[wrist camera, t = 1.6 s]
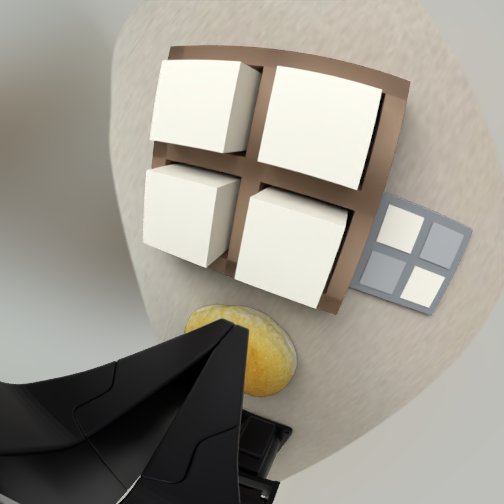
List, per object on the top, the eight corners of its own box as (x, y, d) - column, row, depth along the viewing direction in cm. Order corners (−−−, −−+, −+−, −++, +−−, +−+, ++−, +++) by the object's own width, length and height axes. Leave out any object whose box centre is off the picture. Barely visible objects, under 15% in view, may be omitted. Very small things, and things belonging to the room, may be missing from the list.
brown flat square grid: (340, 292, 17) (336, 314, 15) (168, 231, 20) (147, 243, 18) (402, 90, 11) (410, 81, 9) (193, 54, 14) (170, 46, 12)
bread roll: (299, 385, 22) (287, 421, 18) (206, 367, 25) (185, 396, 22) (299, 304, 19) (283, 341, 15) (186, 292, 22) (157, 319, 19)
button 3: (230, 246, 17) (205, 267, 14) (172, 226, 18) (142, 242, 15) (242, 178, 15) (217, 188, 12) (179, 162, 16) (146, 170, 13)
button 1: (324, 279, 16) (315, 308, 13) (255, 255, 17) (234, 278, 14) (347, 209, 14) (345, 227, 11) (270, 185, 15) (250, 197, 12)
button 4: (248, 149, 14) (222, 153, 12) (182, 137, 15) (149, 139, 13) (263, 75, 12) (240, 61, 10) (194, 69, 13) (162, 60, 11)
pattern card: (430, 311, 15) (431, 316, 15) (349, 283, 17) (348, 287, 16) (470, 227, 13) (473, 230, 12) (382, 191, 14) (383, 192, 14)
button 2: (357, 180, 13) (357, 190, 10) (276, 156, 14) (257, 161, 11) (376, 100, 11) (382, 89, 8) (293, 79, 12) (277, 65, 9)
